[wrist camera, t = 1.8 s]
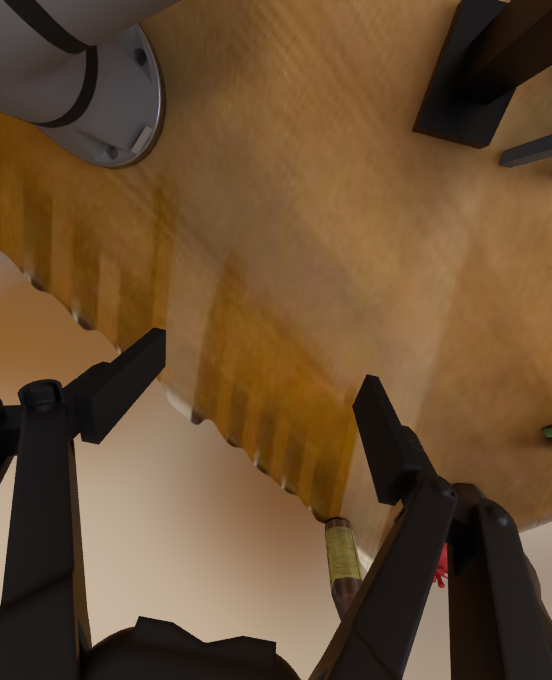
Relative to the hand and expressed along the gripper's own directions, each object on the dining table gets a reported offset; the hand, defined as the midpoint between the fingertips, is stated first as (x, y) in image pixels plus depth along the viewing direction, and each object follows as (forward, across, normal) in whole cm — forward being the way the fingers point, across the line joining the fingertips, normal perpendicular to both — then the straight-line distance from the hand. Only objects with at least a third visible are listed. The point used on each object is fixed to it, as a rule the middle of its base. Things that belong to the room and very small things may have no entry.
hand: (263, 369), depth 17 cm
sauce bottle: (+21, +24, -50) cm, 60 cm away
